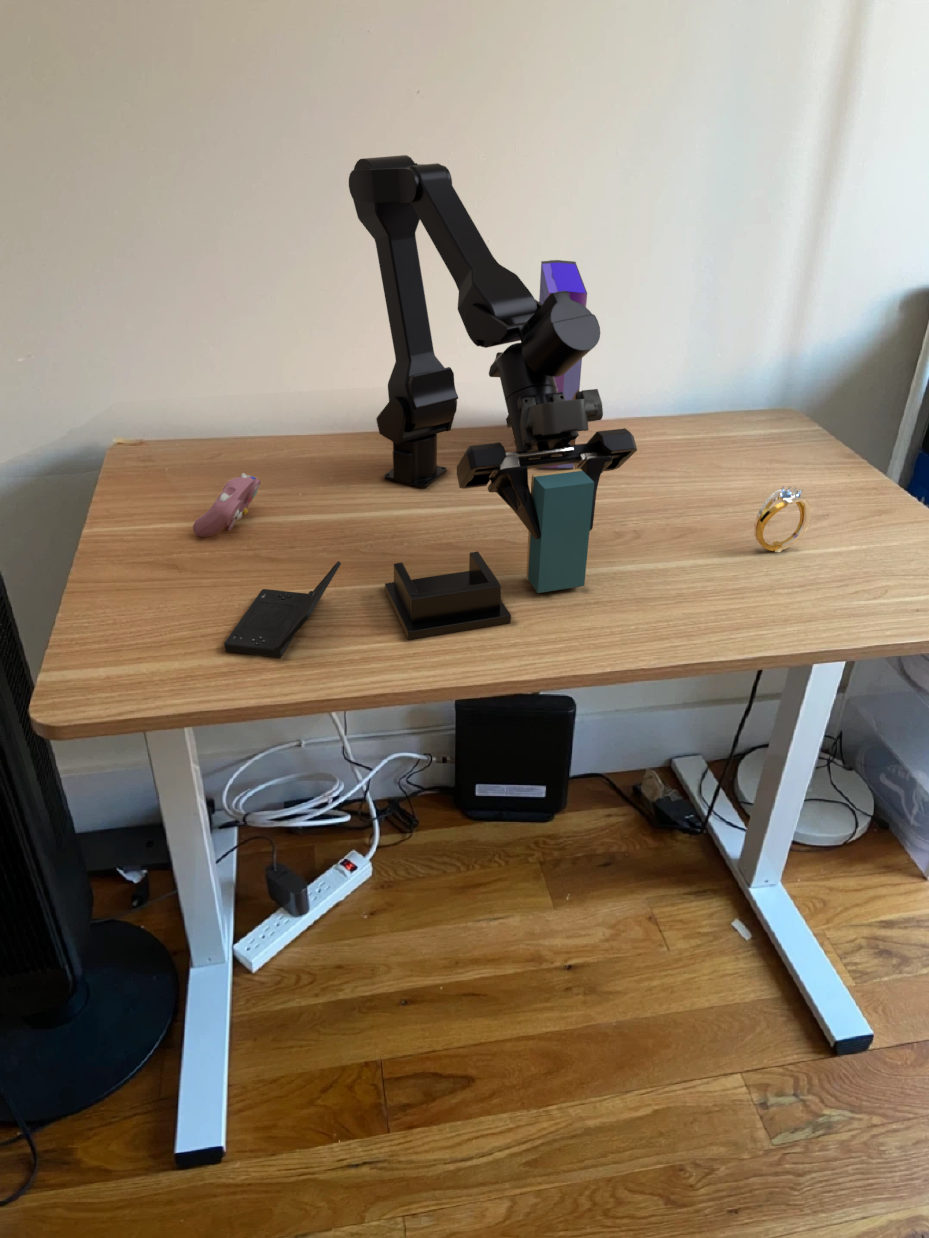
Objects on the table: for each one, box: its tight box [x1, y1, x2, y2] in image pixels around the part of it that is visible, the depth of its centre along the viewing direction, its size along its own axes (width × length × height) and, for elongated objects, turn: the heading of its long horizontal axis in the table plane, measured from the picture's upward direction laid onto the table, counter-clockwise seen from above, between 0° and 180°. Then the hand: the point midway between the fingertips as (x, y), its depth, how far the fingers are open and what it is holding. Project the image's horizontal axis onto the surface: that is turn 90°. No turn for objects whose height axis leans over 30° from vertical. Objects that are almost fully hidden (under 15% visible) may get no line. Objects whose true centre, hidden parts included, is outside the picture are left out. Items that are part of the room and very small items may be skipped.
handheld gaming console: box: [223, 560, 342, 659], centre depth 96 cm, size 12×7×10 cm
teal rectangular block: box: [525, 468, 594, 594], centre depth 101 cm, size 4×6×12 cm, turn 108°
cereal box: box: [538, 259, 588, 470], centre depth 132 cm, size 17×5×24 cm, turn 179°
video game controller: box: [192, 472, 262, 538], centre depth 115 cm, size 10×5×7 cm, turn 168°
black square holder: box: [384, 551, 512, 641], centre depth 100 cm, size 10×11×4 cm
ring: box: [753, 485, 812, 553], centre depth 110 cm, size 7×3×8 cm, turn 105°
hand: (563, 534), depth 100 cm, fingers closed on teal rectangular block, 5 cm apart
